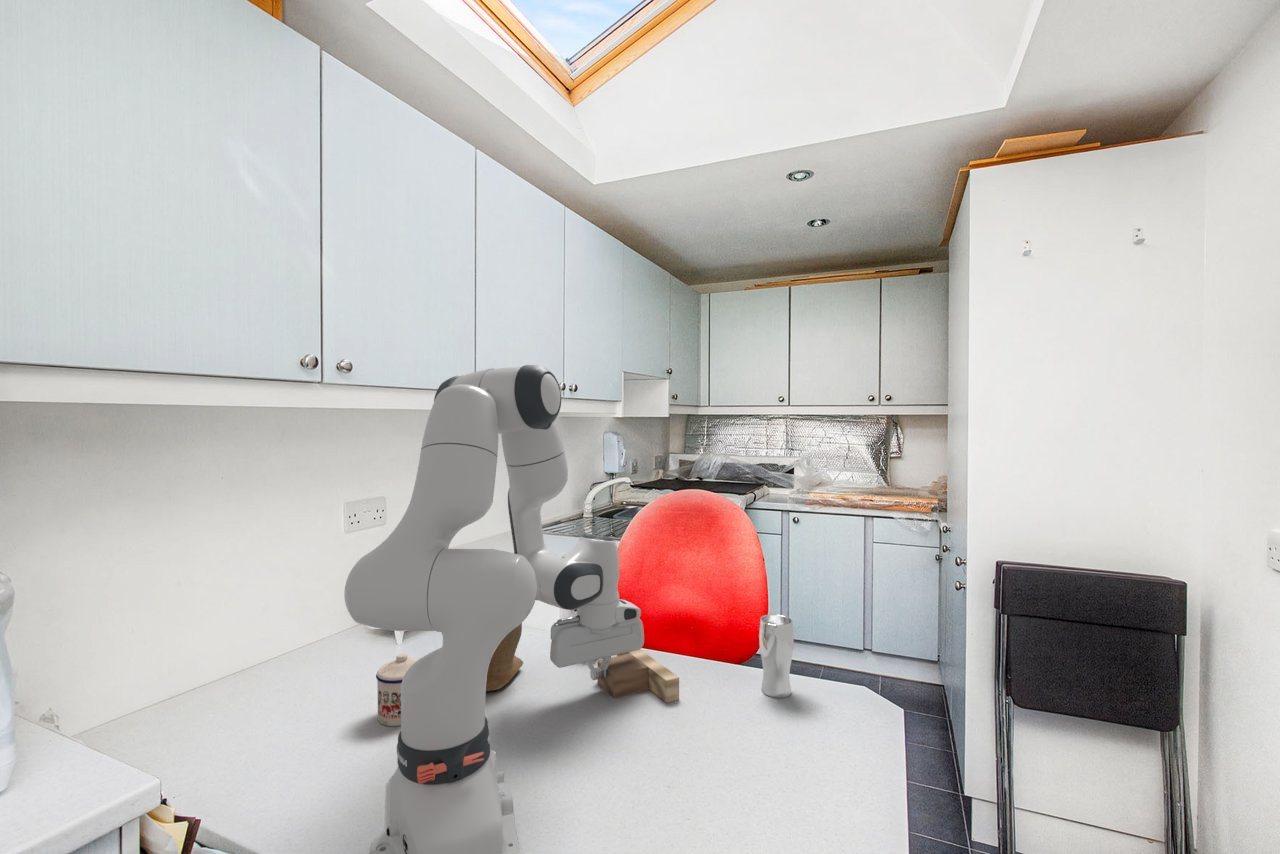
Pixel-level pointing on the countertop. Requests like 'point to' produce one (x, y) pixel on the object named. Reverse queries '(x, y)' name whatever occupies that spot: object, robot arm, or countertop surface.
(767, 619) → the silver metal tumbler
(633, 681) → the block
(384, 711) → the teacup with lid
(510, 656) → the stone cup
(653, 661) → the light wooden bar
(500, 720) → the countertop surface
